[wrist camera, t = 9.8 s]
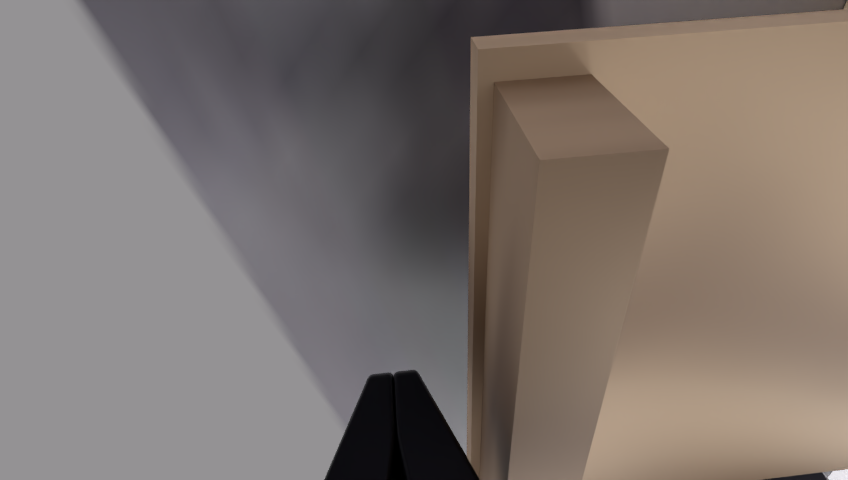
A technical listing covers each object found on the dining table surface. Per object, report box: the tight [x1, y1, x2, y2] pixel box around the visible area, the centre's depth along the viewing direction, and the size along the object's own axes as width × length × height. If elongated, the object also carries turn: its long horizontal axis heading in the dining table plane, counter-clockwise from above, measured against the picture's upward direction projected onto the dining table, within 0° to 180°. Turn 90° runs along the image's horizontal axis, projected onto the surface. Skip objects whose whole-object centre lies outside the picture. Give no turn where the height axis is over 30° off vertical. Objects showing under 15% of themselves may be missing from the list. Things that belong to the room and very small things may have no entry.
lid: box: [467, 9, 848, 480], centre depth 9 cm, size 11×10×2 cm
